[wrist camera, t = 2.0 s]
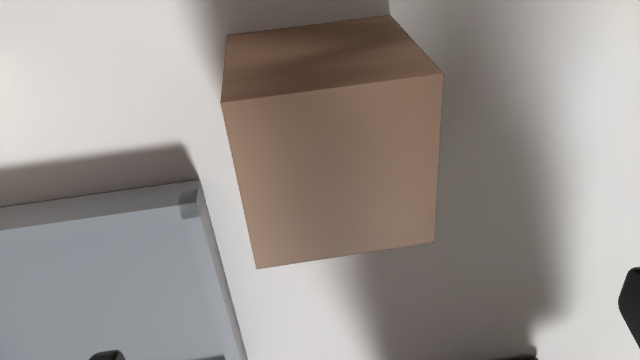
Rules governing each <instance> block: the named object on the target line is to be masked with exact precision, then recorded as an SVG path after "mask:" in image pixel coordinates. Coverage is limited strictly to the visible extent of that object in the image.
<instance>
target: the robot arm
mask: <svg viewBox="0 0 640 360" xmlns="http://www.w3.org/2000/svg"><path fill="white" fill-rule="evenodd" d="M618 305H619V309H620V312H621V314H622V316H623V318H624V320H625V322H626V324H627V326H628V328H629V329H630V331H631V333H632V335H633V337H634V339H635V341H636V343H637V344H638V346H639V348H640V267H635V268H632V269H631V270H629V271H628V273H627V276H626V279H625V281H624V284H623V287H622V290H621V293H620V296H619V299H618ZM89 360H126V359H125V357H124V355H123V353H122V352H121V351H120V350H110V351H103V352H98V353H96V354H94V355H93V356H91V357H90V359H89ZM518 360H538V359H537V358H535V357H530V358H524V359H518Z"/></svg>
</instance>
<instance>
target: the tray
mask: <svg viewBox="0 0 640 360" xmlns="http://www.w3.org/2000/svg"><path fill="white" fill-rule="evenodd" d="M110 350H120V351H121V352H122V353H123V355H124V357H125V359H126V360H248V359H247V355H246V352H245V348H244V344H243V340H242V337H241V333H240V329H239V325H238V322H237V318H236V314H235V310H234V307H233V303H232V299H231V295H230V291H229V288H228V284H227V280H226V276H225V273H224V269H223V265H222V261H221V258H220V254H219V250H218V246H217V243H216V239H215V235H214V231H213V228H212V224H211V220H210V216H209V212H208V209H207V205H206V201H205V197H204V194H203V190H202V186H201V182H200V180H194V181H186V182H179V183H172V184H165V185H158V186H151V187H143V188H136V189H129V190H122V191H115V192H108V193H100V194H93V195H86V196H79V197H72V198H65V199H58V200H50V201H43V202H36V203H29V204H22V205H15V206H7V207H0V360H89V359H90V357H91V356H93V355H94V354H96V353H98V352H103V351H110Z"/></svg>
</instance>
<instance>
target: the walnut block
mask: <svg viewBox="0 0 640 360" xmlns="http://www.w3.org/2000/svg"><path fill="white" fill-rule="evenodd" d="M443 74H444V73H443V72H442V71H441V70H440V69H439V68H438V67H437V66H436V65H435V64H434V63H433V61H432V60H431V59H430V58H429V57H428V56H427V55H426V54H425V53H424V52H423V51H422V49H421V48H420V47H419V46H418V45H417V44H416V43H415V42H414V41H413V40H412V39H411V37H410V36H409V35H408V34H407V33H406V32H405V31H404V30H403V29H402V28H401V27H400V25H399V24H398V23H397V22H396V21H395V20H394V19H393V18H392V17H391V16H390V15H387V16H379V17H370V18H362V19H354V20H346V21H338V22H330V23H322V24H314V25H306V26H298V27H290V28H282V29H274V30H266V31H257V32H249V33H241V34H233V35H227V43H226V53H225V63H224V73H223V84H222V94H221V107H222V112H223V116H224V121H225V126H226V130H227V135H228V140H229V144H230V149H231V153H232V158H233V163H234V167H235V172H236V177H237V181H238V186H239V190H240V195H241V200H242V204H243V209H244V214H245V218H246V223H247V228H248V232H249V237H250V241H251V246H252V251H253V255H254V260H255V265H256V269H262V268H268V267H275V266H281V265H288V264H295V263H301V262H308V261H314V260H321V259H327V258H334V257H341V256H347V255H354V254H360V253H367V252H373V251H380V250H387V249H393V248H400V247H406V246H413V245H419V244H426V243H433V242H434V233H435V215H436V198H437V180H438V162H439V145H440V127H441V110H442V92H443Z"/></svg>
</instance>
